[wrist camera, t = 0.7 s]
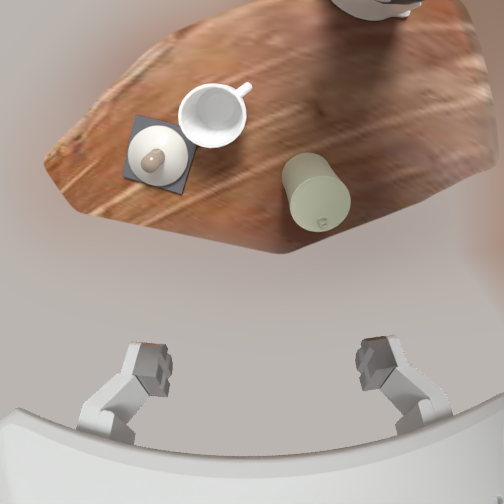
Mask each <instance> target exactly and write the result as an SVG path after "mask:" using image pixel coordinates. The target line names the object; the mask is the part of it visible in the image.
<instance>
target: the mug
mask: <svg viewBox="0 0 504 504" xmlns="http://www.w3.org/2000/svg"><path fill="white" fill-rule="evenodd" d="M251 89H252V85H251V84H250V83H248V82H246V83H245V84H244V85H242V86H241V87H239V88H238V89H237V90H236V89H235V88H233V87H231V86H228V85H223V84H215V83H214V84H205V85H202V86H199V87H196V88H195V89H193V90H192V91H191V92H189V93H188V94H187V95H186V97H185V98H184V99H183V101H182V103H181V105H180V108H179V113H178V118H179V125H180V127H181V130H182V132H183V133H184V134H185V136H186V137H187V138H188V139H189V140H190V141H192V142H193V143H195V144H197V145H199V146H202V147H208V148H216V147H221V146H224V145H227V144H229V143H230V142H232V141H234V140H235V139H236V138H237V137H238V136H239V135H240V133H241V132H242V130H243V128H244V126H245V122H246V108H245V105H244V100H243V97H242V96H244V95H245V94H246V93H248V92H249V91H250V90H251Z"/></svg>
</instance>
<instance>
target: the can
mask: <svg viewBox="0 0 504 504" xmlns="http://www.w3.org/2000/svg"><path fill="white" fill-rule="evenodd" d="M282 183H283V186H284V188H285V191H286V194H287V198H288V202H289V206H290V212H291V215H292V218H293V219H294V221H295V222H296V223H297V224H298V225H299V226H300V227H302V228H303V229H306V230H308V231H313V232H323V231H327V230H330V229H333V228H335V227H336V226H338V225H339V224H340V223H341V222H342V221H343V220H344V219H345V218H346V216H347V214H348V212H349V210H350V205H351V198H350V193H349V191H348V189H347V187H346V186H345V185H344V184H343V183H342V182H341V180H340V179H339V178H338V177H337V175H336V174H335V173H334V171H333V170H332V169H331V167H330V165H329V163H328V162H327V161H326V160H325V159H324V158H323V157H322V156H320V155H318V154H315V153H301V154H298V155H296V156H294V157H292V158H291V159H290V160H289V161H288V162H287V163H286V164H285V166H284V168H283V171H282Z"/></svg>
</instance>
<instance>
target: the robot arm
mask: <svg viewBox="0 0 504 504" xmlns="http://www.w3.org/2000/svg"><path fill="white" fill-rule="evenodd" d="M331 1H332V2H333V3H334V4H335V5H337V6H338V7H339V8H340V9H342V10H343V11H345V12H346V13H348V14H350V15H352V16H354V17H357V18H360V19H364V20H370V21H378V20H384V19H387V18H389V17H401V18H404V17H407V16H409V14H410V10H412V9H414V8H416V7H419V6H420V5H421V2H422V1H424V0H331ZM361 346H362V347H361V348H360V349H359V350H358V351H357V353H356V360H355V361H356V367H357V370H358V371H359V372H360V373H361V376H360V383H361V386H362V390H363V391H367V390H373V389H379V388H380V390H381V391H382V392H383V394H385V396H386V397H387V398H388V399H389V400H390V401H391V402H392V403H393V404H394V405H395V407H396V408H397V409H398V410H399V411H400V412H401V413H402V414H403V415H404V416H403V417H402V418H401V419H400V420H399V421H398V422H397V423H396V424H395V426H396V430H397V434H398V435H397V436H394V437H390V438H387V439H382V440H378V441H374V442H370V443H365V444H361V445H356V446H350V447H345V448H340V449H334V450H327V451H320V452H311V453H302V454H291V455H278V456H277V455H276V456H215V455H200V454H188V453H180V452H171V451H165V450H158V449H151V448H146V447H141V446H136V445H134V440H135V433H134V431H132V429H130V428H129V427H128V426H127V425H126V424H127V423H128V422H129V420H130V419H131V418H132V417H133V416H134V415H135V413H136V412H137V411H138V410H139V409H140V407H141V406H142V405H143V404H144V403H145V402H146V400H147V399H148V398H149V396H159V397H168V392H169V386H170V383H169V381H168V378H169V377H170V376H171V375H172V368H173V366H172V365H173V363H172V358H171V355H170V354H168V353H167V351H168V348H167V346H166V344H154V343H143V342H131V343H130V345H129V347H128V350H127V354H126V357H125V360H124V363H123V367H122V370H121V373H117V374H116V375H115V376H114V377H113V378H112V379H110V380H109V381H108V382H107V383H106V384H105V385H104V386H103V387H102V388H101V389H99V390H98V391H97V392H96V393H95V394H94V395H93V396H92V397H90V398H89V399H88V400H87V401H86V402H85V403H84V404H83V407H82V410H81V414H80V417H79V421H78V425H77V428H76V430H75V429H72V428H69V427H66V426H63V425H61V424H58V423H55V422H53V421H50V420H48V419H45V418H43V417H40V416H38V415H36V414H33V413H31V412H29V411H27V410H25V409H22V408H16V409H14V410H12V411H11V412H10V413H8V414H7V415H5V416H4V417H3V418H1V419H0V504H504V393H501V394H499V395H496V396H494V397H493V398H491V399H489V400H487V401H485V402H483V403H481V404H479V405H477V406H474V407H472V408H470V409H468V410H466V411H464V412H461V413H459V414H457V415H454V416H453V413H452V410H451V408H450V404H449V402H448V399H447V396H446V394H445V392H444V391H443V390H442V389H440V388H439V387H438V386H437V385H436V384H435V383H433V382H432V381H431V380H430V379H429V378H427V377H426V376H425V375H424V374H422V373H421V372H420V371H419V370H418V369H416V368H415V367H414V366H413V365H411V364H410V365H408V362H407V360H406V357H405V355H404V352H403V350H402V347H401V345H400V342H399V340H398V338H397V336H396V335H390V336H381V337H374V338H367V339H364V340H362V342H361Z"/></svg>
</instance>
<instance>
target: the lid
mask: <svg viewBox="0 0 504 504" xmlns="http://www.w3.org/2000/svg"><path fill="white" fill-rule="evenodd" d="M188 160H189V151H188V147H187V144H186V142H185V140H184V138H183V137H182V136H181V135H180V134H179V133H178V132H177V131H176V130H174V129H172V128H170V127H167V126H163V125H154V126H150V127H147V128H145V129H143V130H142V131H140V132H139V133H138V134H137V135H136V136H135V137H134V138H133V139H132V141H131V143H130V146H129V149H128V161H129V165H130V167H131V169H132V171H133V173H134V174H135V175H136V176H137V177H138V178H139V179H140V180H142V181H143V182H145V183H147V184H150V185H154V186H164V185H168V184H170V183H173V182H174V181H176V180H177V179H178V178H179V177H180V176H181V175H182V174H183V172H184V171H185V169H186V167H187V164H188Z"/></svg>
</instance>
